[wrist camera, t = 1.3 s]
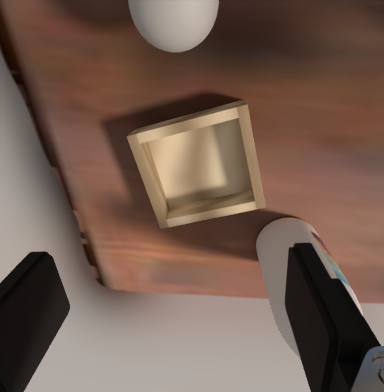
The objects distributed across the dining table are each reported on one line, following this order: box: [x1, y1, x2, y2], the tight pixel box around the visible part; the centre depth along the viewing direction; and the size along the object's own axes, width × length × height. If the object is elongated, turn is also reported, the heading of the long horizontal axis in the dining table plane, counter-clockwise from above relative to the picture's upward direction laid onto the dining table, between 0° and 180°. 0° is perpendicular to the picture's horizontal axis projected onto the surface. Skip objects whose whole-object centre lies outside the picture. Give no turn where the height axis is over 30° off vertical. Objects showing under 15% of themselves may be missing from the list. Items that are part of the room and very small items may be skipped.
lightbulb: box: [128, 0, 219, 52], centre depth 21 cm, size 6×6×11 cm
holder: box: [127, 100, 266, 229], centre depth 30 cm, size 12×11×4 cm
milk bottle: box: [256, 217, 364, 359], centre depth 27 cm, size 8×8×20 cm
